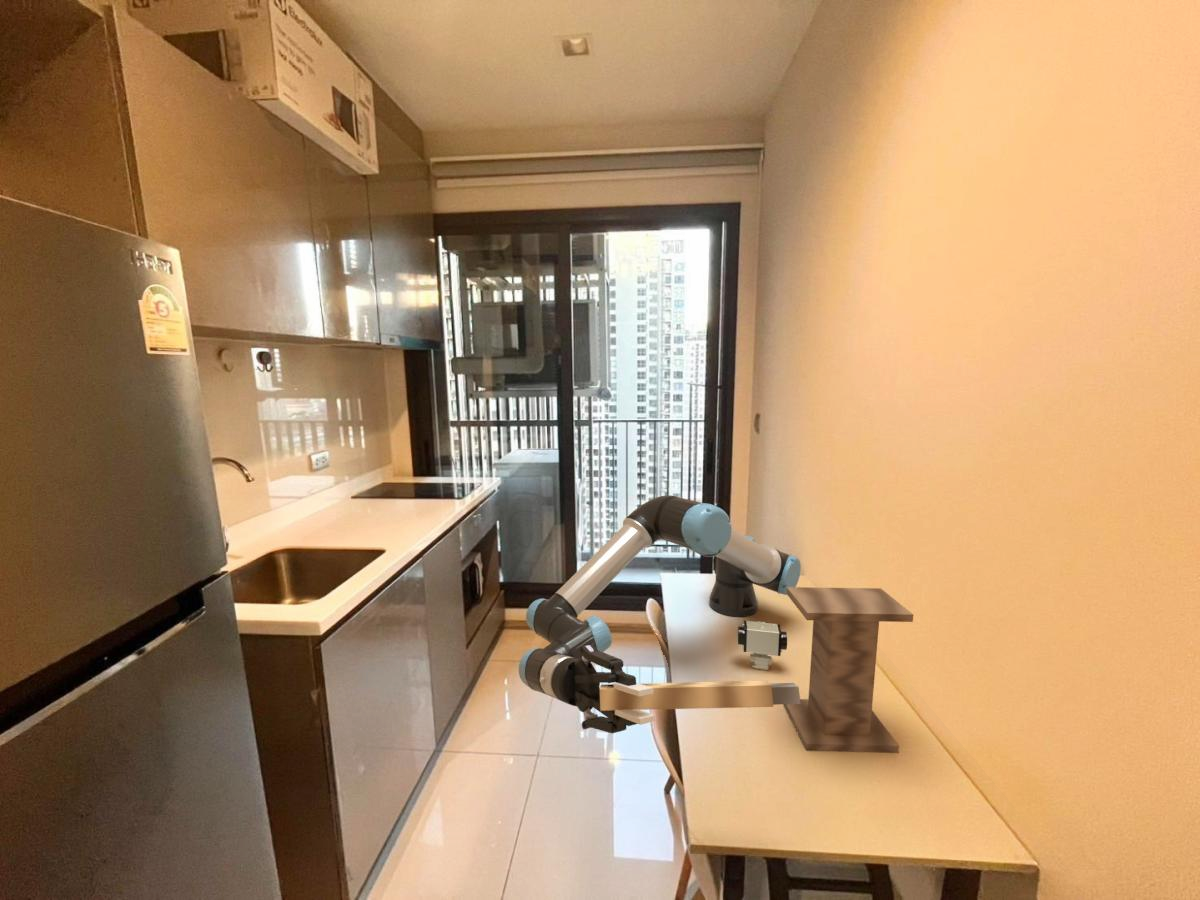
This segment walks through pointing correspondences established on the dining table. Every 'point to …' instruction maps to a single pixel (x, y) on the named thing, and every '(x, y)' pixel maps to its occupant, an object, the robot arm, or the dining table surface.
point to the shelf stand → (843, 668)
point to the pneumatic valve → (762, 642)
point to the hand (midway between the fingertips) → (646, 705)
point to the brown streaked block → (702, 695)
